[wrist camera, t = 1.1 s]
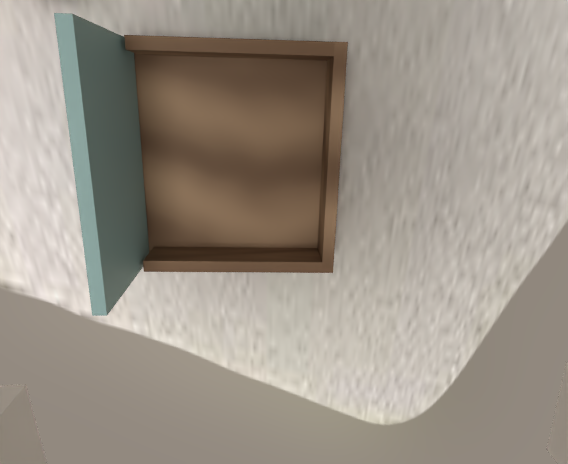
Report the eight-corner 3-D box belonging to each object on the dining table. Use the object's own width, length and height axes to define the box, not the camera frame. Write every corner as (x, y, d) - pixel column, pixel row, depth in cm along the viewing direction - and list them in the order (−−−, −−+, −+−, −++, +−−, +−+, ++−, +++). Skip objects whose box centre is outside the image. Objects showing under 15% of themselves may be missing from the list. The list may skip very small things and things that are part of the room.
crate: (125, 43, 29) (103, 34, 25) (337, 49, 29) (347, 42, 25) (142, 251, 33) (126, 271, 29) (325, 253, 34) (332, 272, 30)
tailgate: (120, 40, 27) (54, 13, 19) (133, 41, 27) (72, 13, 19) (139, 257, 32) (92, 315, 23) (149, 257, 32) (106, 315, 23)
